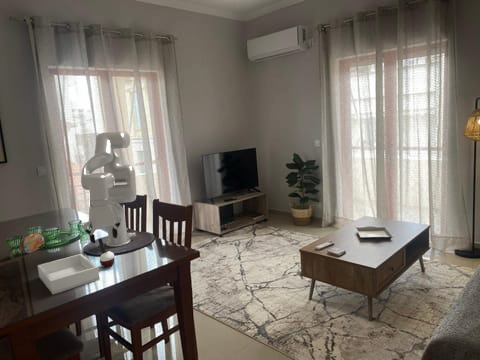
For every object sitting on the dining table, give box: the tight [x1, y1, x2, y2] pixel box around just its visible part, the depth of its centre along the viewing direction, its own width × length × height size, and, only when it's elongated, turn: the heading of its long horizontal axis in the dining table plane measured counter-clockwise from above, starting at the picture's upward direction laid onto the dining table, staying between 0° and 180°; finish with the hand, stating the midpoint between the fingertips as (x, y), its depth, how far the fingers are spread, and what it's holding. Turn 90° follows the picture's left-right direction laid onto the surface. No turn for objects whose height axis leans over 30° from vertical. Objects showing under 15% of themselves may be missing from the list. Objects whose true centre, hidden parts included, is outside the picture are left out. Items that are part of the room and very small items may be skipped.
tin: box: [19, 232, 46, 254], centre depth 189 cm, size 15×3×8 cm, turn 168°
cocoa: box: [98, 237, 115, 269], centre depth 162 cm, size 10×6×12 cm, turn 25°
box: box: [37, 253, 100, 295], centre depth 151 cm, size 18×22×6 cm
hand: (104, 240), depth 160 cm, fingers open, 9 cm apart
